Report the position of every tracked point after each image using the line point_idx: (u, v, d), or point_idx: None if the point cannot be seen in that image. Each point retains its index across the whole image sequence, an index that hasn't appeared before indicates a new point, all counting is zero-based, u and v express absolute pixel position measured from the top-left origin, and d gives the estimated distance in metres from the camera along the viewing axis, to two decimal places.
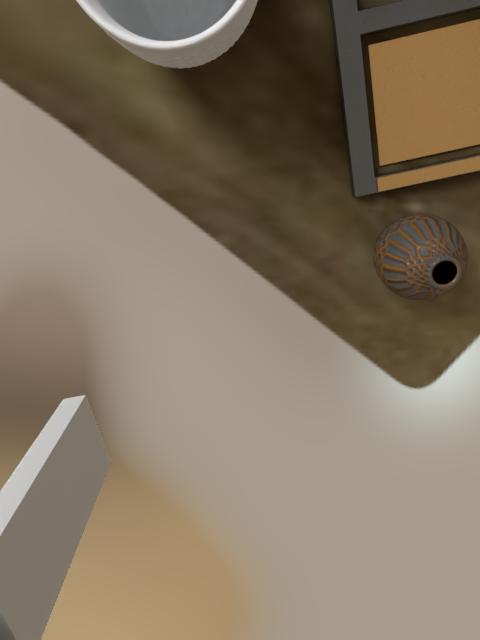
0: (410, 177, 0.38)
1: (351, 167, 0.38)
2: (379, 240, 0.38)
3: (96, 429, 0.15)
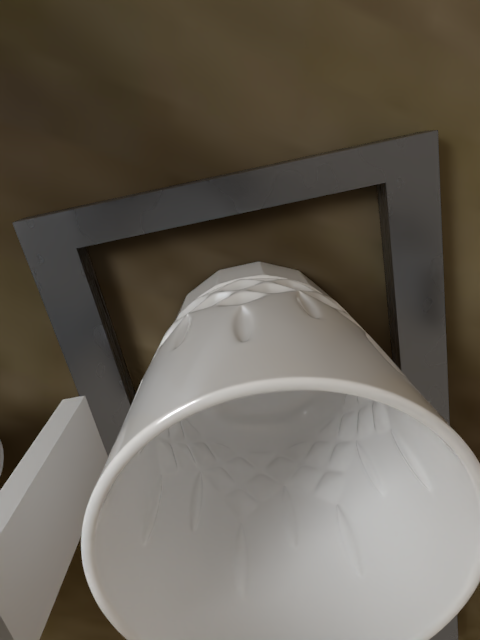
0: None
1: None
2: None
3: (95, 430, 0.15)
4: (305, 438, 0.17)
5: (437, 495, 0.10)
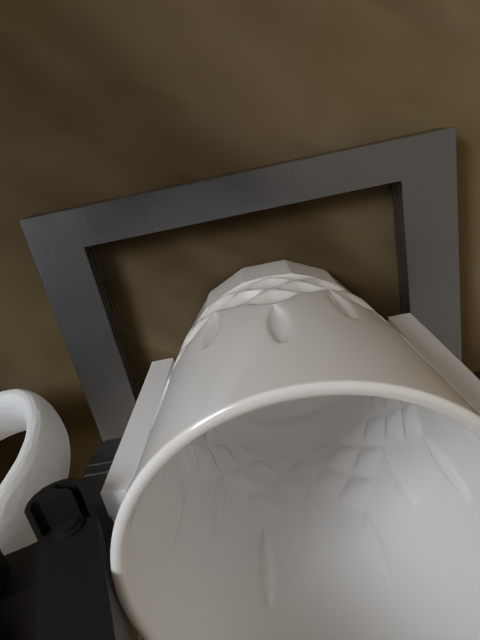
0: None
1: None
2: None
3: None
4: (328, 442, 0.16)
5: (478, 506, 0.10)
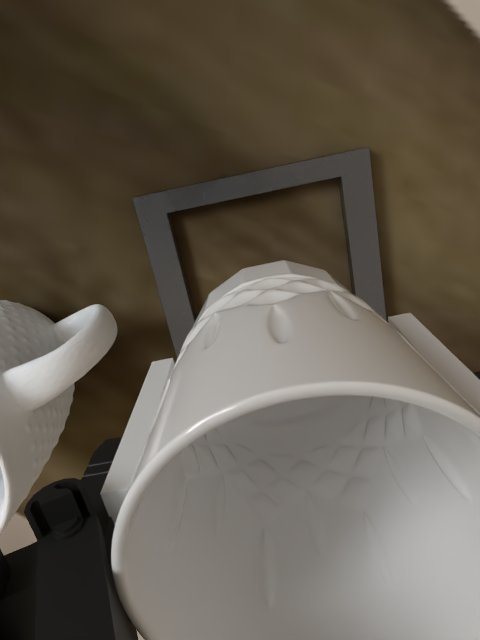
0: None
1: None
2: None
3: None
4: (328, 442, 0.16)
5: (477, 506, 0.10)
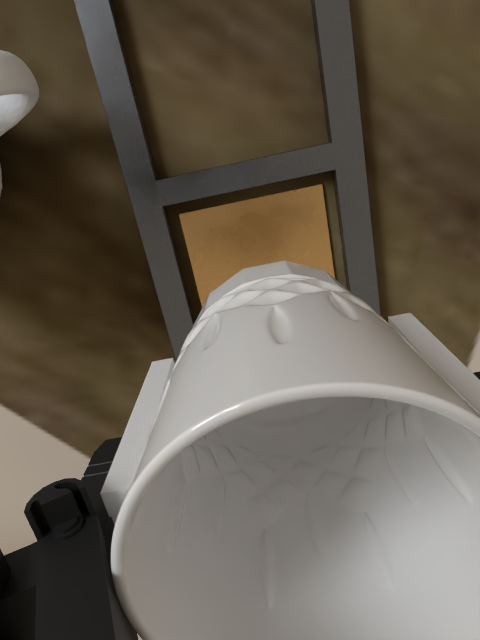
0: None
1: None
2: None
3: None
4: (328, 443, 0.16)
5: (478, 508, 0.10)
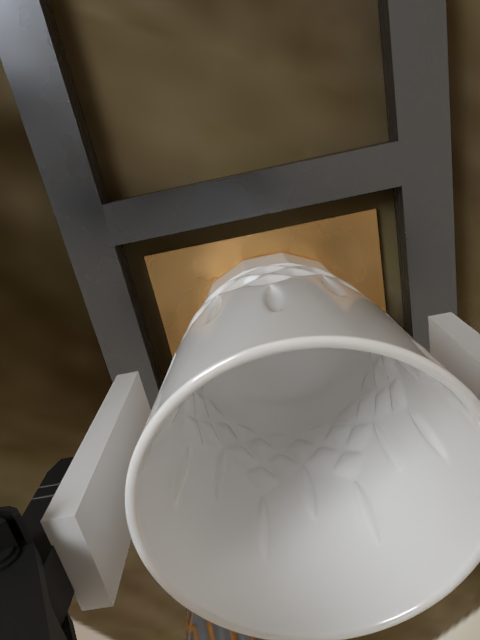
0: None
1: None
2: None
3: (147, 404, 0.16)
4: (323, 422, 0.17)
5: (452, 464, 0.11)
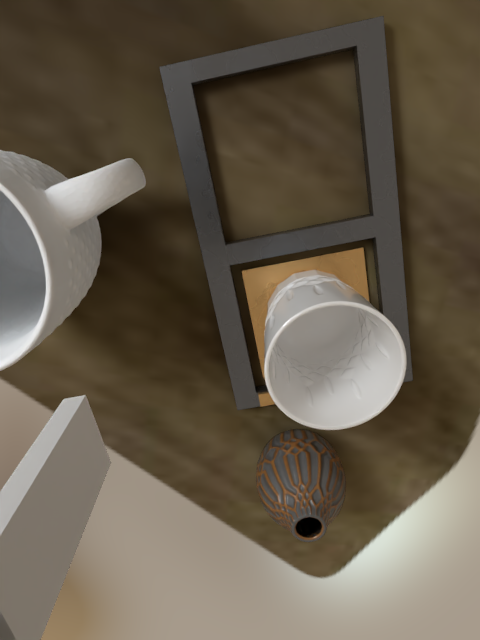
0: None
1: None
2: (259, 459, 0.36)
3: (96, 429, 0.15)
4: (335, 358, 0.33)
5: (390, 358, 0.27)
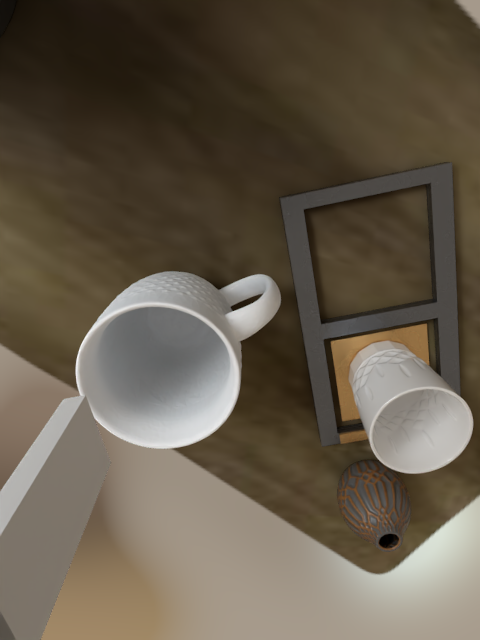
0: None
1: (318, 425, 0.46)
2: (341, 485, 0.46)
3: (96, 429, 0.15)
4: (404, 409, 0.43)
5: (458, 420, 0.36)
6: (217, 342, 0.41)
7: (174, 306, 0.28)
